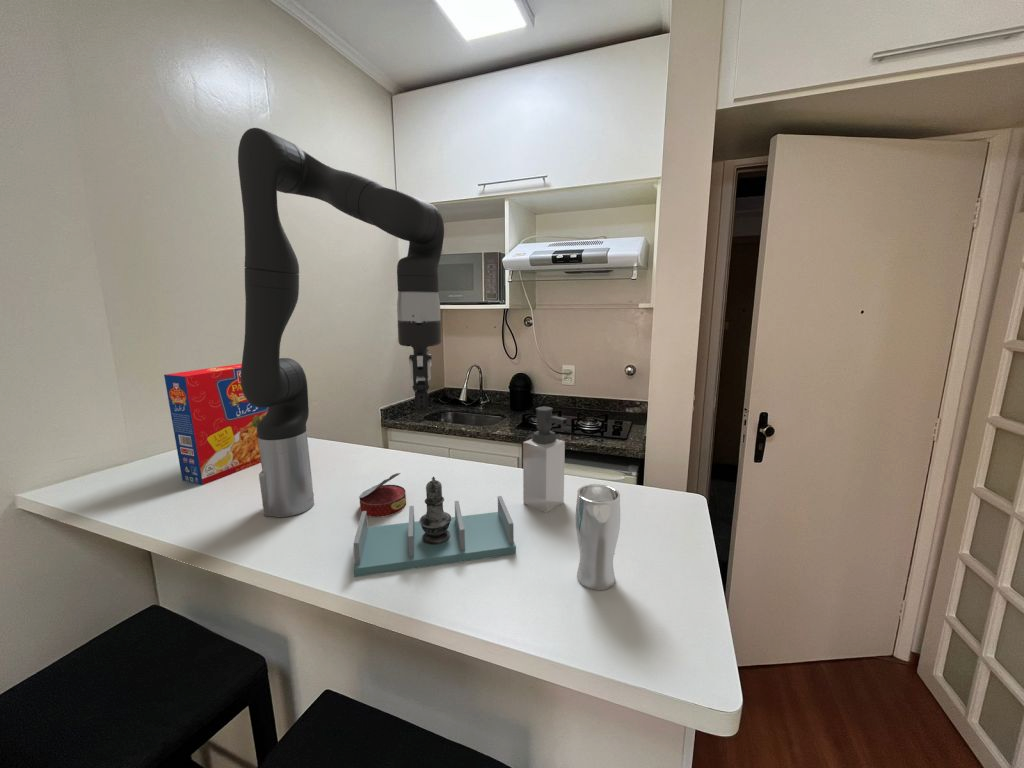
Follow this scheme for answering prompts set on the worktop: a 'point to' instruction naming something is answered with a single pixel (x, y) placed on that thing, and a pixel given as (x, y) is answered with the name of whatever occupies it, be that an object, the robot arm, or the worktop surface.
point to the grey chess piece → (435, 516)
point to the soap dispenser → (544, 464)
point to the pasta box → (213, 423)
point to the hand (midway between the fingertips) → (422, 406)
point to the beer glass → (597, 534)
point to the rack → (408, 551)
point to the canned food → (383, 499)
